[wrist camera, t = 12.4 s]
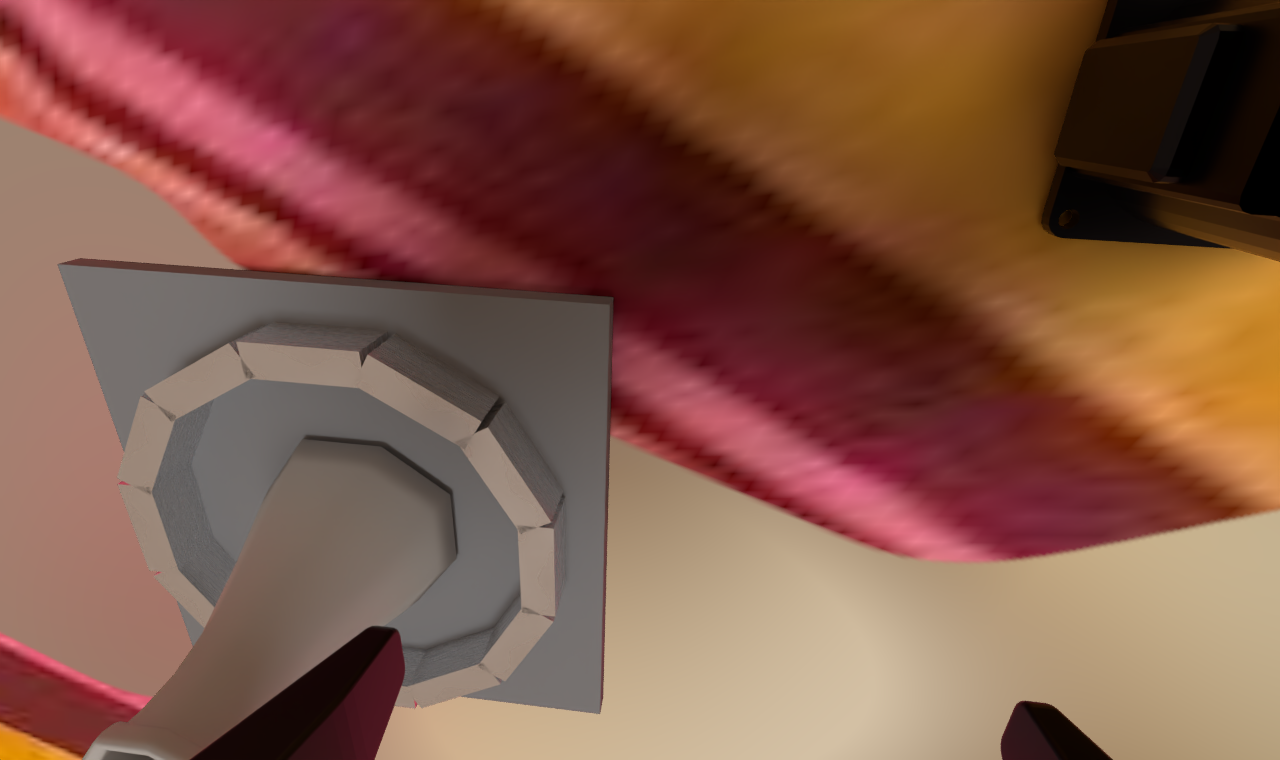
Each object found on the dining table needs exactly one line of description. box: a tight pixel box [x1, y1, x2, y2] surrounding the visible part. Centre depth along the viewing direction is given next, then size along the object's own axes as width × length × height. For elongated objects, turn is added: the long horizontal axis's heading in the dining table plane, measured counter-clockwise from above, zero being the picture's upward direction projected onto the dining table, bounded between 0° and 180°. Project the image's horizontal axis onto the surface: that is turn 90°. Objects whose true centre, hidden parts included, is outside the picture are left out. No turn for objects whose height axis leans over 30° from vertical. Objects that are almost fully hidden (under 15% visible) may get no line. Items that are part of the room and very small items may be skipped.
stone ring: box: [117, 322, 566, 708], centre depth 22 cm, size 15×15×2 cm
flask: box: [82, 439, 457, 760], centre depth 19 cm, size 7×7×10 cm
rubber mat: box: [58, 258, 613, 714], centre depth 23 cm, size 18×18×1 cm
